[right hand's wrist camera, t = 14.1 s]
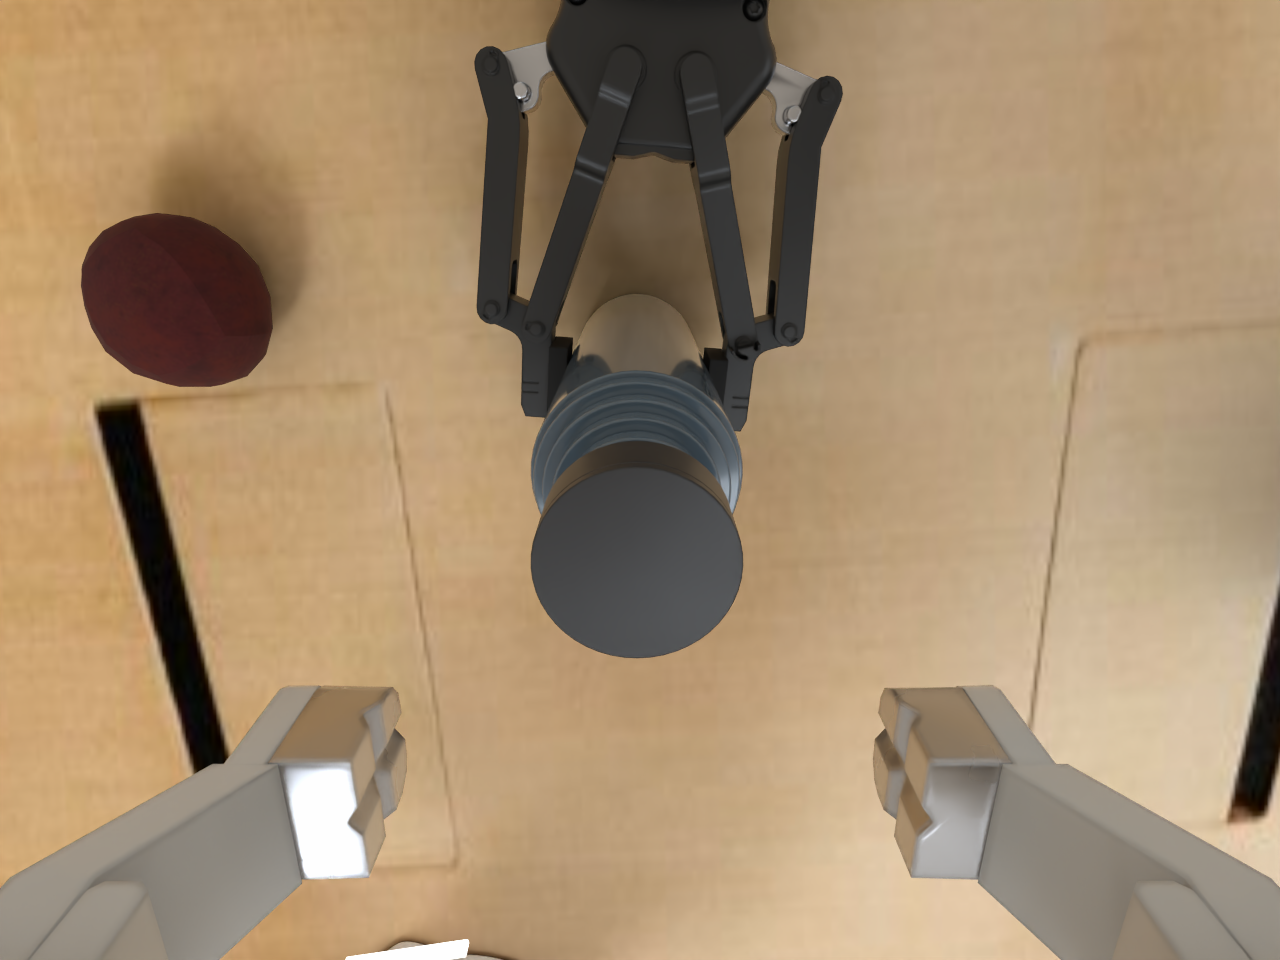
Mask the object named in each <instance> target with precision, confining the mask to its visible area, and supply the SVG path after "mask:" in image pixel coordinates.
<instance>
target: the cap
mask: <svg viewBox="0 0 1280 960" xmlns="http://www.w3.org/2000/svg"><path fill="white" fill-rule="evenodd" d="M742 571H743V552H742V546H741V541H740V537H739V534H738V531H737V528H736V525H735V521H734V518H733V515H732V512H731V509H730V506H729V503H728V499H727V497H726V495H725V493H724V491H723V489H722V487H721V486H720V484H719V483H718V481H717V480H716V478H715V477H714V476H713V475H712V474H711V472H710V471H709V470H708V469H707V468H706V467H705V466H703V465H702V464H701V463H700V462H699V461H698V460H696V459H694V458H693V457H691V456H690V455H688V454H687V453H685V452H682V451H680V450H678V449H676V448H674V447H670V446H667V445H664V444H660V443H655V442H649V441H626V442H619V443H614V444H610V445H607V446H604V447H601V448H598V449H596V450H594V451H591V452H589V453H587V454H586V455H584V456H582V457H581V458H579V459H578V460H576V461H575V462H574V463H573V464H572V465H570V466H569V467H568V468H567V469H566V470H565V471H564V472H563V473H562V475H561V476H560V477H559V478H558V479H557V481H556V482H555V484H554V485H553V487H552V488H551V490H550V493H549V495H548V497H547V499H546V502H545V505H544V508H543V511H542V515H541V518H540V521H539V524H538V528H537V531H536V534H535V537H534V541H533V545H532V552H531V573H532V580H533V583H534V587H535V591H536V593H537V596H538V598H539V600H540V602H541V604H542V606H543V607H544V609H545V611H546V612H547V614H548V615H549V616H550V618H551V619H552V620H553V621H554V623H555V624H556V625H557V626H558V627H559V628H560V629H561V630H563V631H564V632H565V633H566V634H567V635H569V636H570V637H571V638H573V639H574V640H575V641H577V642H579V643H581V644H583V645H584V646H586V647H588V648H591V649H593V650H596V651H598V652H601V653H605V654H608V655H612V656H618V657H624V658H649V657H656V656H661V655H666V654H669V653H672V652H676V651H678V650H681V649H683V648H685V647H688V646H689V645H691V644H693V643H695V642H696V641H698V640H700V639H701V638H702V637H704V636H705V635H706V634H708V633H709V632H710V631H711V630H712V629H713V628H714V627H715V626H716V625H717V624H719V622H720V621H721V620H722V619H723V617H724V616H725V615H726V614H727V612H728V610H729V609H730V607H731V605H732V604H733V602H734V600H735V597H736V595H737V593H738V590H739V586H740V583H741V579H742Z"/></svg>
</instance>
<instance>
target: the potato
mask: <svg viewBox="0 0 1280 960" xmlns="http://www.w3.org/2000/svg"><path fill="white" fill-rule="evenodd" d="M81 288H82V294H83V300H84V306H85V309H86V312H87V315H88V318H89V322H90V325H91V328H92V329H93V331H94V333H95V334H96V336H97V338H98V339H99V341H100V343H101V344H102V346H103V348H104V349H105V351H106V352H107V353H108V354H110V355H111V356H112V357H113V358H115V359H116V360H117V361H118V362H120V363H121V364H122V365H123V366H125V367H126V368H127V369H128V370H130V371H131V372H132V373H134V374H137V375H141V376H144V377H147V378H150V379H153V380H156V381H160V382H163V383H166V384H170V385H174V386H179V387H211V386H217V385H222V384H225V383H228V382H231V381H234V380H237V379H240V378H243V377H246V376H248V374H249V373H250V372H251V371H252V370H253V369H254V368H255V367H256V366H257V364H258V363H259V362H260V361H261V360H262V359H263V358H264V356H265V355H266V352H267V348H268V344H269V340H270V336H271V333H272V329H273V326H272V313H271V300H270V295H269V292H268V289H267V287H266V284H265V282H264V279H263V277H262V274H261V272H260V269H259V267H258V265H257V264H256V262H255V261H254V260H253V259H252V258H251V257H250V256H249V255H248V254H247V253H246V251H245V250H244V249H243V248H242V247H241V246H240V245H239V244H238V243H236V242H235V241H233V240H232V239H231V238H229V237H228V236H226V235H225V234H224V233H222V232H221V231H219V230H218V229H217V228H215V227H213V226H211V225H208V224H206V223H204V222H201V221H199V220H197V219H194V218H191V217H185V216H178V215H169V214H161V213H154V214H148V215H142V216H135V217H132V218H130V219H127V220H124V221H121V222H119V223H117V224H115V225H114V226H112V227H110V228H108V229H106V230H104V231H103V232H102V233H101V234H100V235H99V236H98V237H97V239H96V240H95V241H94V242H93V243H92V244H91V246H90V247H89V249H88V252H87V254H86V257H85V259H84V262H83V265H82V279H81Z"/></svg>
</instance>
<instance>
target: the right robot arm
mask: <svg viewBox="0 0 1280 960" xmlns="http://www.w3.org/2000/svg"><path fill="white" fill-rule="evenodd" d="M400 715H401V707H400V701H399V695H398V692H397V691H396V690H395V689H394V688H393V687H357V686H323V687H321V686H287V687H284V688H282V689H280V690H279V691H278V692H277V693H276V695H275V696H274V697H273V699H272V700H271V701H270V703H269V704H268V706H267V707H266V708H265V710H264V711H263V712H262V714H261V715H260V716H259V718H258V719H257V720H256V722H255V723H254V724H253V726H252V727H251V728H250V730H249V731H248V732H247V734H246V735H245V736H244V738H243V739H242V740H241V742H240V743H239V744H238V746H237V747H236V748H235V750H234V751H233V752H232V754H231V755H230V757H229V758H228V759H227V761H226V762H225V763H224V764H212V765H210V766H208V767H207V768H205V769H203V770H201V771H199V772H198V773H196V774H194V775H192V776H190V777H189V778H187V779H185V780H183V781H182V782H180V783H178V784H176V785H174V786H173V787H171V788H169V789H167V790H165V791H164V792H162V793H160V794H158V795H157V796H155V797H153V798H151V799H149V800H148V801H146V802H144V803H142V804H140V805H139V806H137V807H135V808H133V809H132V810H130V811H128V812H126V813H124V814H123V815H121V816H119V817H117V818H115V819H114V820H112V821H110V822H108V823H107V824H105V825H103V826H101V827H99V828H98V829H96V830H94V831H92V832H90V833H89V834H87V835H85V836H83V837H82V838H80V839H78V840H76V841H74V842H73V843H71V844H69V845H67V846H65V847H64V848H62V849H60V850H58V851H57V852H55V853H53V854H51V855H49V856H48V857H46V858H44V859H42V860H40V861H39V862H37V863H35V864H33V865H32V866H30V867H28V868H26V869H24V870H23V871H21V872H19V873H17V874H15V875H14V876H12V877H10V878H9V879H8V880H7V881H6V883H5V884H4V885H3V886H2V887H1V888H0V960H219V959H220V958H222V957H223V956H224V955H225V954H226V953H227V952H228V951H229V950H230V949H231V948H232V947H233V946H235V945H236V944H237V943H238V942H239V941H240V940H241V939H242V938H243V937H244V936H245V935H247V934H248V933H249V932H250V931H251V930H252V929H253V928H254V927H255V926H256V925H257V924H258V923H260V922H261V921H262V920H263V919H264V918H265V917H266V916H267V915H268V914H269V913H270V912H271V911H273V910H274V909H275V908H276V907H277V906H278V905H279V904H280V903H281V902H282V901H283V900H284V899H286V898H287V897H288V896H289V895H290V894H291V893H292V892H293V891H294V890H295V889H296V888H297V887H299V886H300V885H301V884H302V879H335V878H369V876H370V874H371V871H372V869H373V866H374V864H375V861H376V859H377V856H378V854H379V851H380V849H381V847H382V844H383V842H384V839H385V837H386V834H385V827H384V819H385V818H386V817H388V816H389V815H390V814H391V813H393V812H394V811H395V810H396V809H397V807H398V804H399V801H400V799H401V796H402V793H403V788H404V783H405V777H406V772H407V752H406V743H405V739H404V738H403V737H402V736H401V735H400V733H399V732H398V731H397V730H396V729H395V726H396V724H397V722H398V719H399V717H400ZM879 715H880V717H881V719H882V722H883V724H884V726H885V729H884V730H883V731H882V732H881V733H880V735H879V736H878V737H877V738H876V739H875V744H874V754H873V766H874V780H875V784H876V788H877V792H878V796H879V799H880V801H881V804H882V807H883V809H884V810H885V811H886V812H887V813H889V814H890V815H891V816H892V817H894V818H895V819H896V827H895V834H894V837H895V839H896V842H897V844H898V846H899V849H900V851H901V854H902V856H903V859H904V861H905V864H906V866H907V868H908V871H909V873H910V876H911V878H943V879H978V883H979V884H980V885H981V886H982V887H983V888H984V889H985V890H986V891H987V892H988V893H989V894H991V895H992V896H993V897H994V898H995V899H996V900H997V901H998V902H999V903H1000V904H1001V905H1002V906H1004V907H1005V908H1006V909H1007V910H1008V911H1009V912H1010V913H1011V914H1012V915H1013V916H1014V917H1015V918H1016V919H1018V920H1019V921H1020V922H1021V923H1022V924H1023V925H1024V926H1025V927H1026V928H1027V929H1028V930H1029V931H1031V932H1032V933H1033V934H1034V935H1035V936H1036V937H1037V938H1038V939H1039V940H1040V941H1041V942H1042V943H1044V944H1045V945H1046V946H1047V947H1048V948H1049V949H1050V950H1051V951H1052V952H1053V953H1054V954H1055V955H1056V956H1058V957H1059V958H1060V959H1061V960H1280V887H1279V886H1278V885H1277V884H1276V883H1275V882H1274V881H1273V880H1272V879H1271V878H1269V877H1268V876H1266V875H1264V874H1262V873H1260V872H1259V871H1257V870H1255V869H1253V868H1251V867H1250V866H1248V865H1246V864H1244V863H1243V862H1241V861H1239V860H1237V859H1235V858H1234V857H1232V856H1230V855H1228V854H1227V853H1225V852H1223V851H1221V850H1219V849H1218V848H1216V847H1214V846H1212V845H1211V844H1209V843H1207V842H1205V841H1203V840H1202V839H1200V838H1198V837H1196V836H1195V835H1193V834H1191V833H1189V832H1187V831H1186V830H1184V829H1182V828H1180V827H1178V826H1177V825H1175V824H1173V823H1171V822H1170V821H1168V820H1166V819H1164V818H1162V817H1161V816H1159V815H1157V814H1155V813H1154V812H1152V811H1150V810H1148V809H1146V808H1145V807H1143V806H1141V805H1139V804H1138V803H1136V802H1134V801H1132V800H1130V799H1129V798H1127V797H1125V796H1123V795H1122V794H1120V793H1118V792H1116V791H1114V790H1113V789H1111V788H1109V787H1107V786H1105V785H1104V784H1102V783H1100V782H1098V781H1097V780H1095V779H1093V778H1091V777H1089V776H1088V775H1086V774H1084V773H1082V772H1081V771H1079V770H1077V769H1075V768H1073V767H1072V766H1070V765H1068V764H1056V763H1055V762H1054V761H1053V759H1052V758H1051V757H1050V755H1049V754H1048V753H1047V751H1046V750H1045V749H1044V747H1043V746H1042V745H1041V743H1040V742H1039V741H1038V739H1037V738H1036V737H1035V735H1034V734H1033V733H1032V731H1031V730H1030V729H1029V727H1028V726H1027V725H1026V723H1025V722H1024V721H1023V719H1022V718H1021V717H1020V715H1019V714H1018V713H1017V711H1016V710H1015V709H1014V707H1013V706H1012V705H1011V703H1010V702H1009V701H1008V699H1007V698H1006V697H1005V695H1004V694H1003V693H1002V691H1001V690H1000V689H999V688H997V687H995V686H993V685H983V686H957V687H941V688H884V691H883V693H882V696H881V699H880V706H879ZM468 945H469V941H468V939H466V940H459V941H452V942H445V943H439V944H432V945H423V944H420V943H416V942H409V941H406V942H401V943H398V944H396V945H394V946H393V947H392V948H390V949H389V950H387V951H385V952H378V953H371V954H364V955H358V956H351V957H347V958H346V960H502V959H498V958H493V957H488V956H480V955H466V954H467V950H468Z"/></svg>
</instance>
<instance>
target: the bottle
mask: <svg viewBox="0 0 1280 960" xmlns="http://www.w3.org/2000/svg"><path fill="white" fill-rule="evenodd" d="M626 441H649V442H655V443H660V444H664V445H667V446H670V447H674V448H676V449H678V450H680V451H682V452H685V453H687V454H688V455H690V456H691V457H693V458H694V459H696V460H698V461H699V462H700V463H701V464H702V465H703V466H705V467H706V468H707V469H708V470H709V471H710V472H711V474H712V475H713V476H714V477H715V478H716V480H717V481H718V483H719V484H720V486H721V487H722V489H723V491H724V493H725V495H726V497H727V499H728V503H729V506H730V509H731V512H732V515H733V512H734V510H735V507H736V504H737V501H738V498H739V494H740V490H741V485H742V476H743V467H742V456H741V450H740V446H739V443H738V440H737V436H736V434H735V432H734V429H733V427H732V425H731V422H730V420H729V418H728V416H727V413H726V411H725V409H724V406H723V404H722V402H721V400H720V397H719V395H718V393H717V390H716V388H715V386H714V384H713V381H712V379H711V377H710V374H709V372H708V370H707V367H706V365H705V363H704V361H703V358H702V356H701V354H700V351H699V349H698V347H697V345H696V342H695V340H694V338H693V335H692V333H691V331H690V329H689V327H688V324H687V323H686V321H685V320H684V318H683V317H682V315H681V314H680V313H679V312H678V311H677V310H676V309H675V308H674V307H673V306H671V305H670V304H668V303H667V302H665V301H663V300H661V299H659V298H656V297H654V296H650V295H645V294H628V295H623V296H619V297H617V298H614V299H612V300H610V301H608V302H606V303H605V304H603V305H602V306H600V307H599V308H598V309H597V310H596V311H595V312H594V313H593V314H592V316H591V317H590V318H589V320H588V321H587V323H586V325H585V327H584V329H583V331H582V333H581V336H580V338H579V340H578V343H577V345H576V347H575V350H574V352H573V354H572V357H571V359H570V361H569V363H568V366H567V368H566V370H565V373H564V375H563V377H562V380H561V382H560V384H559V387H558V389H557V391H556V394H555V396H554V398H553V401H552V403H551V405H550V407H549V410H548V412H547V414H546V417H545V419H544V421H543V424H542V426H541V428H540V431H539V433H538V435H537V438H536V441H535V445H534V448H533V453H532V459H531V481H532V489H533V492H534V496H535V500H536V503H537V505H538V509H539V511H540V514H541V515H542V511H543V508H544V505H545V502H546V499H547V497H548V495H549V493H550V490H551V488H552V487H553V485H554V484H555V482H556V481H557V479H558V478H559V477H560V476H561V475H562V473H563V472H564V471H565V470H566V469H567V468H568V467H569V466H570V465H572V464H573V463H574V462H575V461H576V460H578V459H579V458H581V457H582V456H584V455H586V454H587V453H589V452H591V451H594V450H596V449H598V448H601V447H604V446H607V445H610V444H614V443H619V442H626Z"/></svg>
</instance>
